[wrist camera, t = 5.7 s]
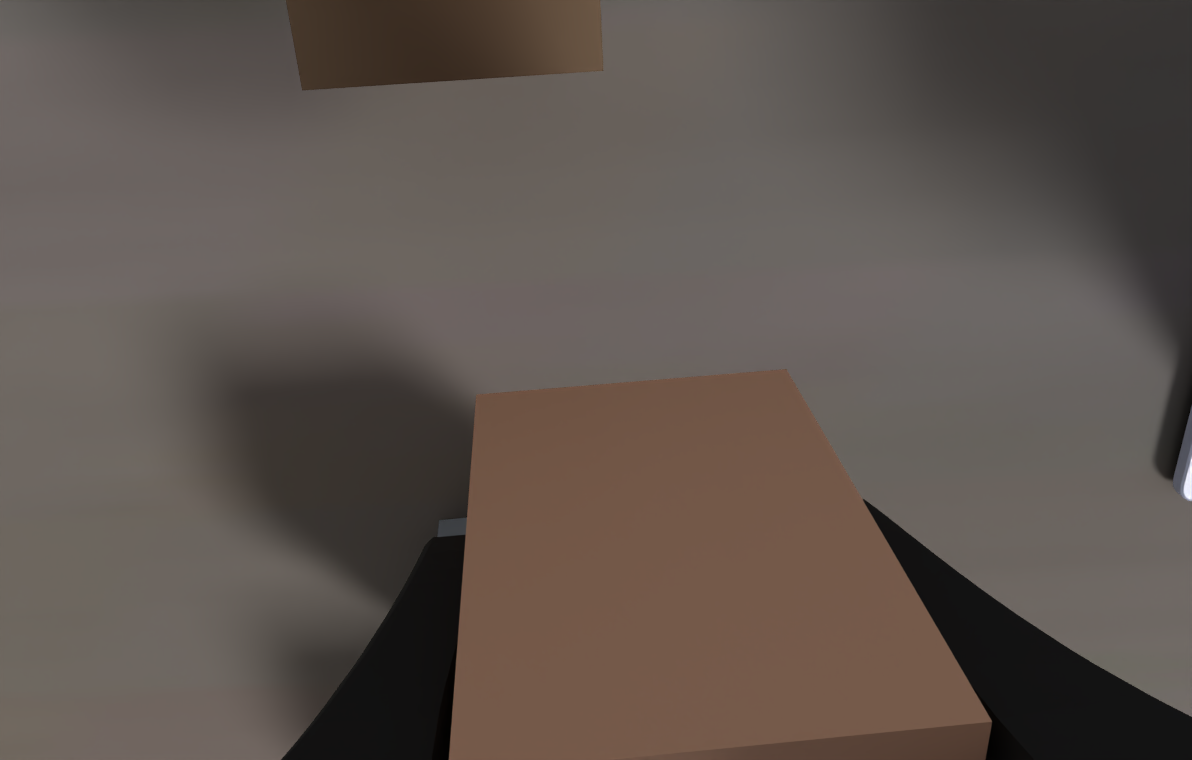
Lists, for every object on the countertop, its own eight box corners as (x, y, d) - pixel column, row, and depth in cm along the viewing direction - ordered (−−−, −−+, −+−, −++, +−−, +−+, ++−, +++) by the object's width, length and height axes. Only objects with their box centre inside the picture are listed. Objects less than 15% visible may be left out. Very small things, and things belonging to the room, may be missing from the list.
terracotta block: (786, 369, 12) (992, 721, 7) (776, 612, 14) (935, 1040, 9) (476, 394, 12) (447, 775, 7) (506, 637, 14) (501, 1090, 9)
